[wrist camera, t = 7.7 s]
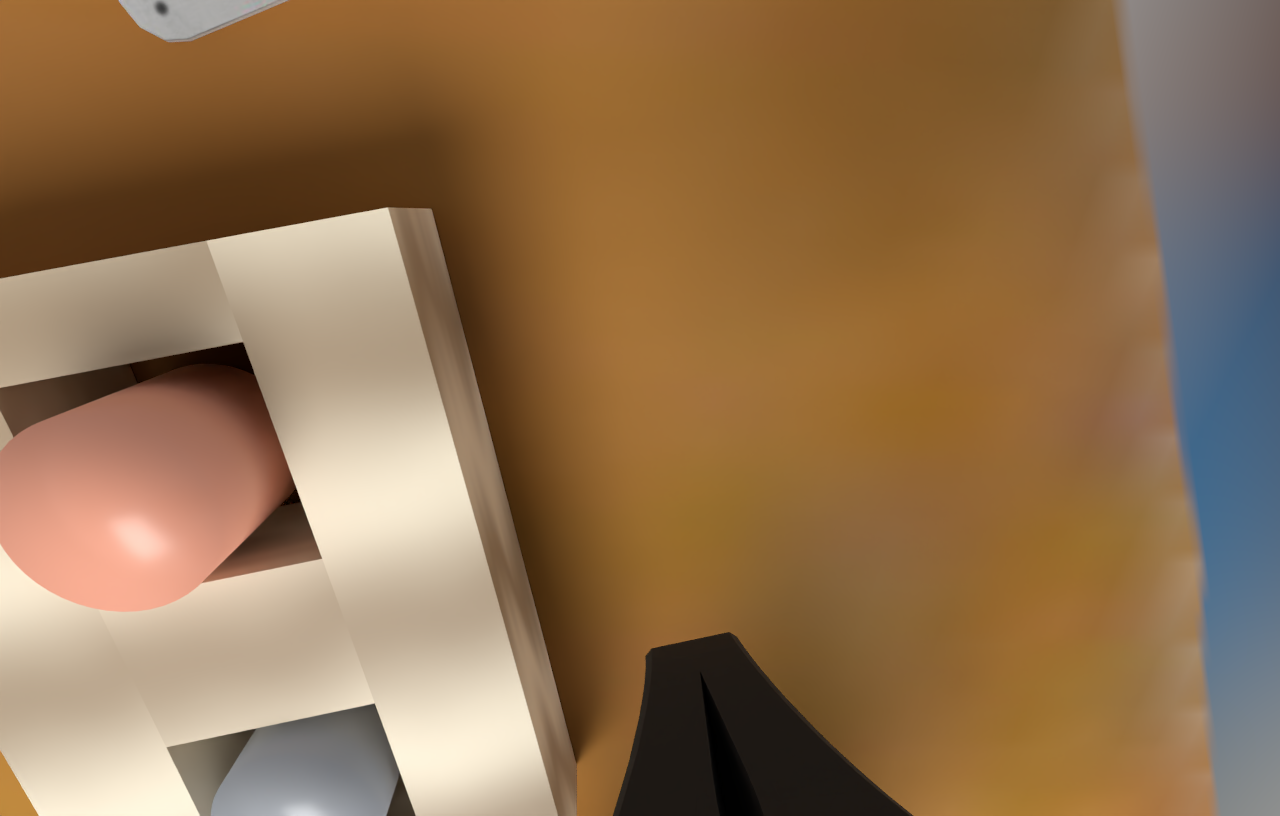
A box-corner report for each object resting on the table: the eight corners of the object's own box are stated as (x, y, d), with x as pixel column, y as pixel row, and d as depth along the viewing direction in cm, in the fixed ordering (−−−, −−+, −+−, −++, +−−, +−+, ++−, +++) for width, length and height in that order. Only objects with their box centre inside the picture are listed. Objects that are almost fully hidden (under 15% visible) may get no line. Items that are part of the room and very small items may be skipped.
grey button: (434, 741, 21) (402, 861, 17) (307, 768, 20) (245, 896, 17) (398, 634, 19) (355, 737, 16) (262, 662, 19) (184, 774, 15)
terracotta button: (328, 502, 17) (254, 588, 13) (169, 533, 16) (45, 630, 13) (274, 348, 15) (175, 393, 12) (102, 381, 15) (-56, 437, 11)
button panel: (576, 765, 22) (576, 881, 18) (214, 843, 21) (136, 980, 18) (431, 208, 17) (387, 207, 13) (-54, 298, 16) (-250, 324, 12)
